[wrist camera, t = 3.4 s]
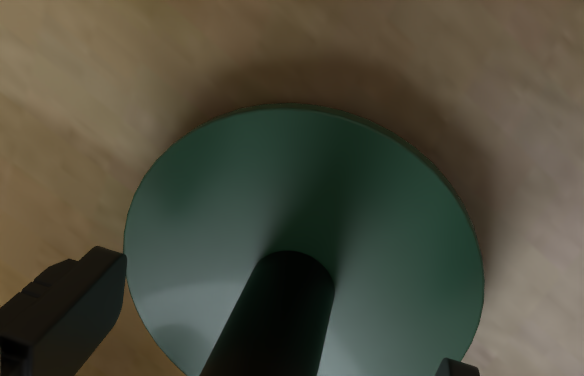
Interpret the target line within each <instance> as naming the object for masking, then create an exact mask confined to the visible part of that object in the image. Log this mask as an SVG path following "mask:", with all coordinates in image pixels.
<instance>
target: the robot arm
mask: <svg viewBox="0 0 584 376" xmlns="http://www.w3.org/2000/svg"><path fill="white" fill-rule="evenodd" d="M126 269H127V256H126V255H125V254H122V253H119V252H116V251H112V250H109V249H106V248H103V247H100V246H95V247H94V248H92V249H91V250H90V251H89V252H88V253H87V254H86V255H85V256H84V257H82V258H81V259H80V260H79V261H75V260H72V259H67V260H64V261H62V262H59V263H57V264H55V265H52V266H50V267H48V268H47V269H46V270H44V271H43V272H42V273H41V274H40V275H39V276H37V277H36V278H35V279H34V281H33V282H30V283H29V284H28V285H27V286H26V287H25V288H23V289H22V292H21V293H20V292H19V293H17V294H16V295H15V296H14V297H13V298H12V299H10V300H9V301H8V302H7V303H6V304H5V305H3V306H2V307H1V308H0V376H74V375H75V374H76V373H77V372H78V370H79V369H80V368H81V367H82V365H83V364H84V363H85V362H86V360H87V359H88V358H89V357H90V356H91V354H92V353H93V352H94V351H95V349H96V348H97V347H98V346H99V344H100V343H101V342H102V341H103V339H104V338H105V337H106V336H107V334H108V333H109V332H110V331H111V329H112V328H113V327H114V325H115V323H116V321H117V319H118V317H119V314H120V312H121V308H122V303H123V295H124V286H125V278H126ZM435 376H480V374H479V370H478V368H477V367H475V366H472V365H469V364H465V363H462V362H459V361H456V360H453V359H450V358H447V357H445V358H444V359H443V360H442V362H441V363H440V365H439V368H438V370H437V372H436V374H435Z"/></svg>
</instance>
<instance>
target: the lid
mask: <svg viewBox="0 0 584 376" xmlns="http://www.w3.org/2000/svg"><path fill="white" fill-rule="evenodd" d="M123 254H125V255H126V256H127V269H126V278H127V283H128V287H129V291H130V294H131V297H132V299H133V302H134V305H135V307H136V310H137V312H138V314H139V316H140V318H141V320H142V321H143V323H144V325H145V327H146V329H147V330H148V332H149V333H150V335H151V336H152V338H153V339H154V341H155V342H156V344H157V345H158V346H159V347H160V349H161V350H162V351H163V352H164V353H165V354H166V356H167V357H168V358H169V359H170V360H171V361H172V362H173V363H174V364H175V365H176V366H177V367H178V368H179V369H180V370H181V371H182V372H183V373H184V374H185V375H187V376H435V374H436V372H437V370H438V368H439V365H440V363H441V362H442V360H443V359H444V358H445V357H447V358H450V359H453V360H456V361H459V362H461V360H462V359H463V357H464V355H465V353H466V352H467V350H468V348H469V347H470V345H471V343H472V341H473V338H474V336H475V333H476V330H477V328H478V325H479V322H480V318H481V313H482V308H483V303H484V285H485V278H484V270H483V261H482V255H481V251H480V247H479V244H478V240H477V237H476V233H475V229H474V226H473V224H472V222H471V219H470V217H469V215H468V213H467V211H466V208H465V206H464V204H463V203H462V201H461V199H460V198H459V196H458V195H457V193H456V192H455V190H454V188H453V187H452V185H451V184H450V183H449V181H448V180H447V179H446V178H445V177H444V176H443V174H442V173H441V172H440V171H439V170H438V169H437V167H436V166H435V165H434V164H433V163H432V162H431V161H430V160H428V159H427V158H426V157H425V156H424V155H423V154H422V153H421V152H419V151H418V150H417V149H416V148H415V147H414V146H412V145H411V144H409V143H408V142H406V141H405V140H403V139H402V138H401V137H399V136H398V135H396V134H395V133H393V132H391V131H390V130H388V129H386V128H384V127H382V126H380V125H378V124H376V123H374V122H372V121H370V120H368V119H365V118H362V117H359V116H356V115H353V114H351V113H348V112H345V111H342V110H337V109H332V108H328V107H323V106H318V105H310V104H298V103H278V104H263V105H257V106H252V107H247V108H241V109H238V110H235V111H232V112H229V113H226V114H223V115H220V116H217V117H215V118H213V119H211V120H209V121H207V122H205V123H203V124H201V125H199V126H197V127H196V128H194V129H193V130H192V131H190V132H189V133H187V134H186V135H184V136H183V137H182V138H180V139H179V140H178V141H176V142H175V143H174V144H172V145H171V146H170V147H169V148H168V149H167V150H166V151H165V152H164V153H163V154H162V155H161V156H160V157H159V158H158V159H157V160H156V161H155V162H154V164H153V165H152V166H151V168H150V169H149V170H148V172H147V173H146V174H145V176H144V177H143V179H142V181H141V183H140V185H139V187H138V188H137V190H136V192H135V194H134V197H133V200H132V202H131V205H130V208H129V211H128V214H127V220H126V225H125V230H124V244H123Z"/></svg>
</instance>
